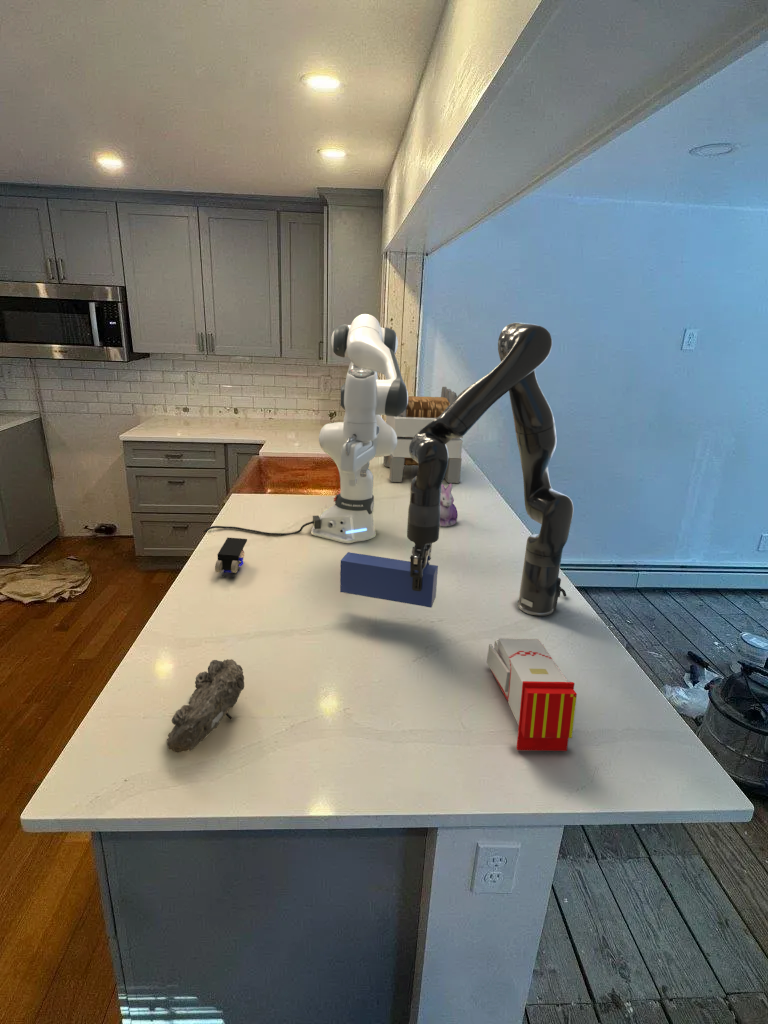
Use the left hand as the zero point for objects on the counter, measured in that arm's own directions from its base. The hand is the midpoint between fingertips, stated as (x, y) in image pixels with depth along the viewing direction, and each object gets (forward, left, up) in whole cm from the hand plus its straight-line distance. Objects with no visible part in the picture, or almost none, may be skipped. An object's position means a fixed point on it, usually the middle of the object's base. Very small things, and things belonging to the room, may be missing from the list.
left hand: (358, 481), depth 157 cm
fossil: (-7, -66, -30) cm, 73 cm away
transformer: (-7, +117, -30) cm, 121 cm away
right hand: (+23, -21, -18) cm, 36 cm away
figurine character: (-36, -8, -30) cm, 47 cm away
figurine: (+17, +55, -30) cm, 65 cm away
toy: (+50, -42, -30) cm, 72 cm away
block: (+15, -21, -22) cm, 34 cm away
